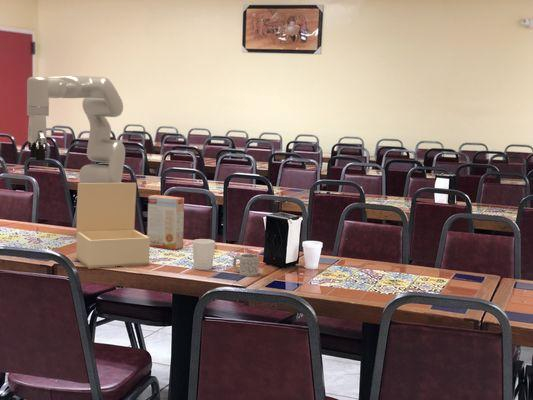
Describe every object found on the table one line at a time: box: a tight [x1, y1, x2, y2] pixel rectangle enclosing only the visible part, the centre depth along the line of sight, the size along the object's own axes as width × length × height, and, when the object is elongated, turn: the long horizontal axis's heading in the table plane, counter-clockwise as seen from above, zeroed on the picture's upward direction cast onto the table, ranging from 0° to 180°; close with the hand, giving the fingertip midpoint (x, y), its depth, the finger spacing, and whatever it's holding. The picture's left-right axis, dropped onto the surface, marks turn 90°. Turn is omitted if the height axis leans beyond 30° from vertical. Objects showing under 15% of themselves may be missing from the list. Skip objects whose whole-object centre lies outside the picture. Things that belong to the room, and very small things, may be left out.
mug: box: [232, 253, 260, 277], centre depth 271 cm, size 10×7×7 cm, turn 59°
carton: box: [75, 229, 151, 270], centre depth 280 cm, size 18×22×10 cm
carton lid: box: [75, 182, 137, 233], centre depth 288 cm, size 18×22×6 cm
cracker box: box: [146, 194, 185, 251], centre depth 311 cm, size 14×6×21 cm, turn 63°
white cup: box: [192, 238, 216, 271], centre depth 276 cm, size 8×8×10 cm
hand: (37, 159), depth 278 cm, fingers open, 9 cm apart
